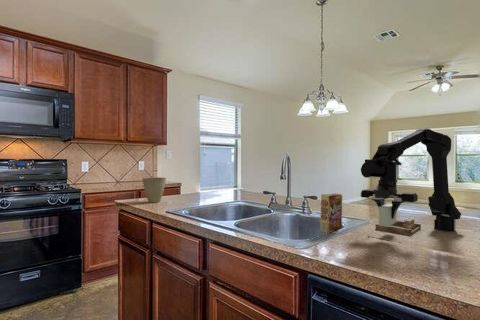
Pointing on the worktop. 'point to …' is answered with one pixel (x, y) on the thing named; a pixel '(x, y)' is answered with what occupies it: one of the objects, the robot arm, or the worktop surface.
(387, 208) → the pale grey rectangular block
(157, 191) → the plant pot
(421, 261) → the worktop surface
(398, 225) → the rack
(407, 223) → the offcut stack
